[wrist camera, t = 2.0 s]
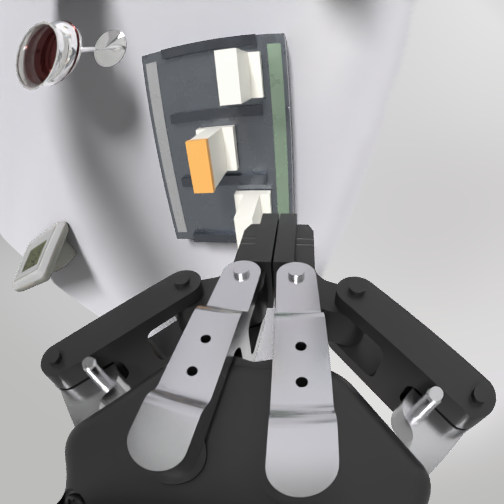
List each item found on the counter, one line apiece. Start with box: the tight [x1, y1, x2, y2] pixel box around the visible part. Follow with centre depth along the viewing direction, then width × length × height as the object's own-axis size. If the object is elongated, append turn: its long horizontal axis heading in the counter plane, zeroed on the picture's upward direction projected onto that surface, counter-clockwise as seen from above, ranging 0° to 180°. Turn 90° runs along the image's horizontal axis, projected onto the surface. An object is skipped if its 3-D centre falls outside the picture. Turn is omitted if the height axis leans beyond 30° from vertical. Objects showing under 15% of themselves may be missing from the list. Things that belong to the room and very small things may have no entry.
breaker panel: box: [142, 33, 294, 242], centre depth 28 cm, size 14×22×4 cm, turn 5°
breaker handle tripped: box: [185, 125, 239, 193], centre depth 24 cm, size 4×4×6 cm
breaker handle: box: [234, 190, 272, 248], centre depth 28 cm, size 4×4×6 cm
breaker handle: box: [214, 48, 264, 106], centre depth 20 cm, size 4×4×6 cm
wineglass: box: [16, 20, 126, 90], centre depth 18 cm, size 7×7×12 cm
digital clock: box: [13, 222, 76, 292], centre depth 39 cm, size 16×9×11 cm, turn 102°
